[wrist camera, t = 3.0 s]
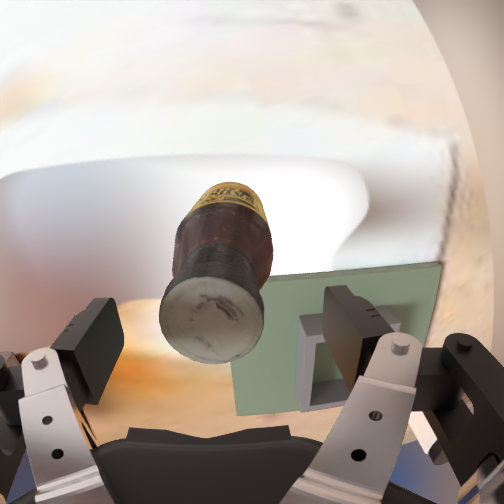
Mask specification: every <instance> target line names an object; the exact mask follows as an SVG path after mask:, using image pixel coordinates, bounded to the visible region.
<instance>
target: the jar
mask: <svg viewBox="0 0 504 504" xmlns="http://www.w3.org/2000/svg"><path fill="white" fill-rule="evenodd" d="M408 423H409V425H410V427H411V428H412V430H413V432H414V434H415V436H416V437H417V439H418V441H419V443H420V445H421V447H422V448H423V450H424V452H425V453H426V454H429V456H430V458H431V460H432V462H433V463H434V465H441V464H444V463H446V462H448V459H447V457H446V455H445V453H444V451H443V449H442V447H441V445H440V443H439V442H438V440H437V438H436V436H435V434H434V432H433V430H432V428H431V427H430V425H429V423H428V421H427V419H426V417H425V416H424V414H423V412H422V411H419V412H411V414H410V418H409V421H408Z"/></svg>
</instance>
